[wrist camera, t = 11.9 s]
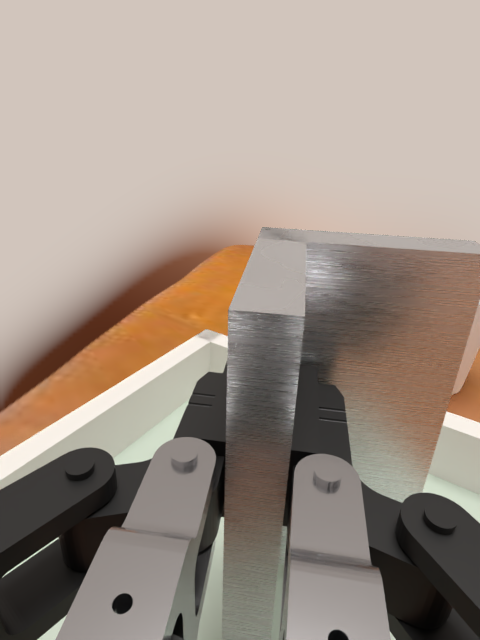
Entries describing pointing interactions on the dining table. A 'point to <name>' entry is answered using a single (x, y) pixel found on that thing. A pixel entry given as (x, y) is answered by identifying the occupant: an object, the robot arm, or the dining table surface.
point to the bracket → (334, 379)
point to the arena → (161, 425)
